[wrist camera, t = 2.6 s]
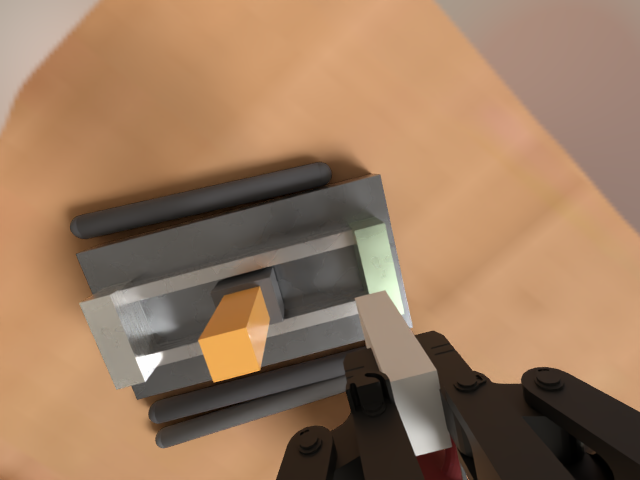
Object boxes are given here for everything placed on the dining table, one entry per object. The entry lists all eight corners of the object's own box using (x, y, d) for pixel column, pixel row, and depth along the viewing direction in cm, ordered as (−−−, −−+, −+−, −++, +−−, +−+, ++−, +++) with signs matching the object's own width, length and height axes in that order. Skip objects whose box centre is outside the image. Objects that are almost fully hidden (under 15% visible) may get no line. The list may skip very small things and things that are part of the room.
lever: (232, 321, 26) (200, 393, 18) (218, 281, 25) (179, 336, 17) (284, 307, 26) (277, 373, 18) (272, 266, 25) (259, 315, 17)
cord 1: (84, 238, 27) (69, 243, 25) (76, 216, 27) (60, 219, 25) (332, 182, 27) (334, 184, 26) (328, 160, 27) (329, 159, 25)
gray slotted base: (153, 376, 30) (117, 427, 24) (99, 244, 27) (45, 265, 22) (401, 311, 30) (426, 346, 24) (371, 173, 27) (391, 175, 22)
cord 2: (163, 440, 31) (156, 455, 30) (156, 426, 31) (149, 439, 29) (427, 358, 31) (433, 368, 30) (422, 342, 31) (429, 351, 29)
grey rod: (157, 415, 31) (149, 430, 29) (150, 398, 30) (141, 412, 29) (419, 346, 31) (427, 357, 29) (416, 328, 30) (423, 338, 29)
